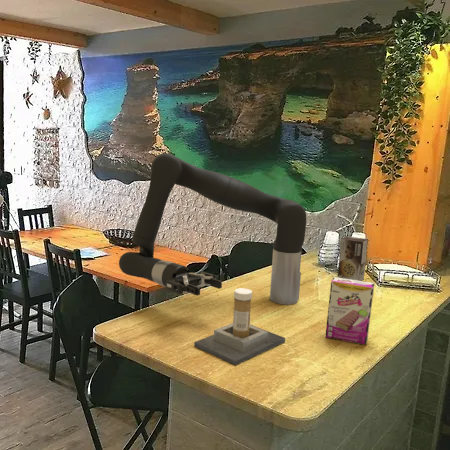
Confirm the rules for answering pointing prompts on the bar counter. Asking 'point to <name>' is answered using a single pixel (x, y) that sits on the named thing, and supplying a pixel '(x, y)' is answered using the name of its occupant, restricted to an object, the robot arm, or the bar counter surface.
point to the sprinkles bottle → (242, 312)
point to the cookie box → (352, 258)
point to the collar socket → (238, 344)
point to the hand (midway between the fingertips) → (210, 288)
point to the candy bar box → (349, 310)
